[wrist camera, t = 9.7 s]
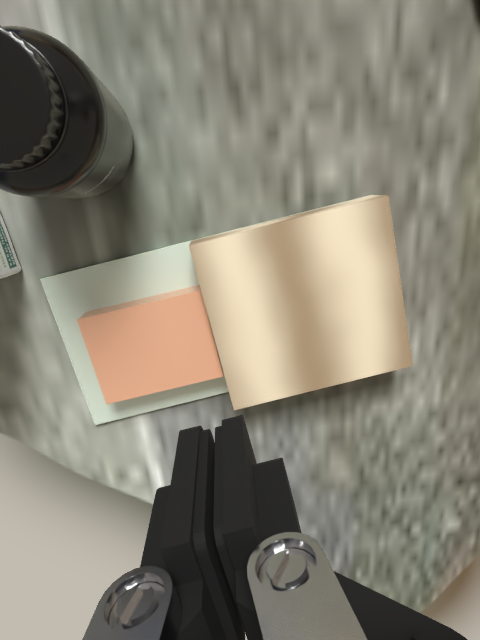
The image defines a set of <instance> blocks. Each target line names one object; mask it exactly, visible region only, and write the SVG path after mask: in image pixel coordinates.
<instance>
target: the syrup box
mask: <svg viewBox="0 0 480 640" xmlns="http://www.w3.org/2000/svg"><path fill="white" fill-rule="evenodd" d="M20 271H21V266H20V263H19V262H18V259H17V256H16V254H15V251H14V249H13V245H12V242H11V239H10V237H9V234H8V232H7V229H6V227H5V224H4V221H3V219H2V216H1V214H0V279H1V278H4V277H8V276H11V275H14V274H16V273H19V272H20Z"/></svg>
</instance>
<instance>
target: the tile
mask: <svg viewBox="0 0 480 640" xmlns="http://www.w3.org/2000/svg"><path fill="white" fill-rule="evenodd" d="M77 322H78V325H79V327H80V330H81V333H82V336H83V339H84V342H85V345H86V347H87V350H88V353H89V356H90V359H91V362H92V365H93V367H94V370H95V373H96V376H97V379H98V382H99V385H100V387H101V390H102V393H103V396H104V399H105V402H106V404H110V403H115V402H119V401H123V400H127V399H131V398H136V397H140V396H144V395H148V394H152V393H157V392H161V391H165V390H169V389H173V388H178V387H182V386H186V385H190V384H194V383H199V382H203V381H207V380H211V379H215V378H220V377H224V374H223V368H222V365H221V361H220V357H219V354H218V350H217V347H216V343H215V339H214V336H213V332H212V328H211V325H210V321H209V317H208V314H207V310H206V306H205V303H204V299H203V296H202V292H201V288H200V285H196V286H192V287H188V288H184V289H179V290H175V291H171V292H167V293H163V294H159V295H154V296H150V297H146V298H142V299H138V300H133V301H129V302H125V303H121V304H117V305H113V306H108V307H104V308H100V309H96V310H92V311H88V312H85V313H84V314H83V315H82V316H81V317H80V318H79V319H77Z"/></svg>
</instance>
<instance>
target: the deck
mask: <svg viewBox="0 0 480 640" xmlns="http://www.w3.org/2000/svg"><path fill="white" fill-rule="evenodd" d="M189 248H190V252H191V255H192V259H193V263H194V266H195V270H196V274H197V277H198V281H199V285H200V288H201V292H202V296H203V299H204V303H205V306H206V310H207V314H208V317H209V321H210V325H211V328H212V332H213V336H214V339H215V343H216V347H217V350H218V354H219V357H220V361H221V365H222V368H223V372H224V376H225V379H226V383H227V387H228V390H229V394H230V397H231V401H232V405H233V408H234V410H238V409H242V408H246V407H250V406H254V405H258V404H262V403H266V402H270V401H274V400H278V399H282V398H286V397H290V396H294V395H298V394H302V393H306V392H310V391H314V390H318V389H322V388H326V387H330V386H334V385H338V384H342V383H346V382H350V381H354V380H358V379H362V378H366V377H370V376H374V375H378V374H382V373H386V372H390V371H394V370H398V369H402V368H406V367H410V366H413V364H412V357H411V350H410V343H409V336H408V329H407V322H406V315H405V308H404V301H403V294H402V287H401V280H400V273H399V266H398V259H397V252H396V245H395V238H394V231H393V224H392V217H391V210H390V203H389V196H388V195H371V196H367V197H363V198H359V199H355V200H351V201H347V202H343V203H339V204H335V205H331V206H327V207H323V208H319V209H315V210H311V211H307V212H303V213H299V214H295V215H292V216H288V217H284V218H280V219H276V220H272V221H268V222H264V223H260V224H256V225H252V226H248V227H244V228H240V229H236V230H232V231H228V232H224V233H220V234H216V235H213V236H209V237H205V238H201V239H197V240H193V241H191V242H190V244H189Z"/></svg>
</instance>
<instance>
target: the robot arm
mask: <svg viewBox="0 0 480 640" xmlns="http://www.w3.org/2000/svg"><path fill="white" fill-rule="evenodd" d="M245 633H246V636H247V639H248V640H467V639H466V638H465V637H463V636H462V635H460V634H459V633H457V632H456V631H454V630H453V629H451V628H449V627H447V626H445V625H443V624H441V623H439V622H437V621H435V620H433V619H431V618H429V617H427V616H424V615H422V614H420V613H418V612H416V611H414V610H412V609H410V608H408V607H406V606H404V605H402V604H400V603H398V602H396V601H394V600H392V599H390V598H388V597H386V596H384V595H382V594H379V593H377V592H375V591H373V590H371V589H369V588H367V587H365V586H363V585H361V584H359V583H357V582H355V581H353V580H351V579H349V578H347V577H345V576H343V575H341V574H339V573H336V572H334V571H333V569H332V567H331V565H330V563H329V561H328V559H327V557H326V555H325V553H324V551H323V549H322V548H321V546H320V545H319V544H318V542H317V541H316V540H314V539H313V538H311V537H310V536H308V535H305V534H302V533H301V529H300V525H299V521H298V517H297V513H296V509H295V504H294V500H293V497H292V493H291V489H290V485H289V481H288V477H287V473H286V470H285V466H284V462H283V458H278V459H274V460H270V461H266V462H262V463H258V464H257V463H256V460H255V456H254V453H253V449H252V446H251V442H250V439H249V435H248V431H247V428H246V424H245V421H244V418H243V416H242V415H240V416H236V417H232V418H228V419H224V420H222V426H219V427H216V428H215V442H214V439H213V436H212V433H211V431H210V429H207V430H203V428H202V427H201V426H197V427H193V428H189V429H185V430H181V431H180V432H179V437H178V443H177V450H176V456H175V462H174V468H173V474H172V480H171V485H169V486H165V487H161V488H159V489H157V491H156V494H155V499H154V504H153V509H152V514H151V518H150V523H149V528H148V533H147V538H146V542H145V547H144V551H143V556H142V561H141V566H140V568H136V569H133V570H132V571H130V572H127V573H125V574H124V575H122V576H121V577H120V578H118V579H117V580H116V581H115V582H113V583H112V585H111V586H110V587H109V588H108V589H107V590H106V591H105V593H104V594H103V596H102V598H101V599H100V601H99V603H98V605H97V608H96V610H95V612H94V614H93V617H92V619H91V621H90V624H89V626H88V628H87V630H86V633H85V635H84V637H83V639H82V640H245Z"/></svg>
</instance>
